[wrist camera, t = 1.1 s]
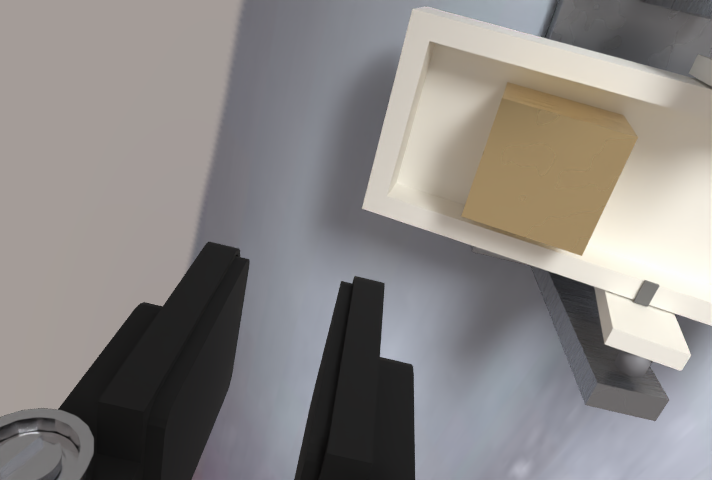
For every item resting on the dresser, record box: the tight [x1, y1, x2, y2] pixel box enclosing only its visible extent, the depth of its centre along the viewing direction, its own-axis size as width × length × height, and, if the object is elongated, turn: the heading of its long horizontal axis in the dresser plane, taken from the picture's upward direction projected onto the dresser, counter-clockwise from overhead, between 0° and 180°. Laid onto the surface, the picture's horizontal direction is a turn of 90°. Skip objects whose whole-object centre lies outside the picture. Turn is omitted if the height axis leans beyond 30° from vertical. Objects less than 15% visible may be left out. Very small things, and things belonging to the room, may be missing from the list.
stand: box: [471, 0, 712, 421], centre depth 25 cm, size 16×10×13 cm, turn 167°
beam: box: [362, 6, 712, 378], centre depth 24 cm, size 13×26×9 cm, turn 77°
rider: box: [461, 82, 638, 256], centre depth 23 cm, size 5×5×4 cm
